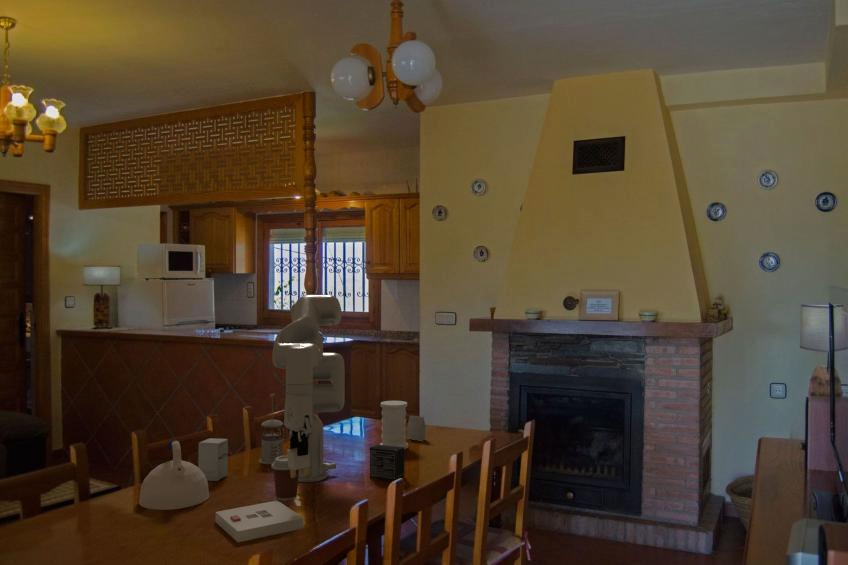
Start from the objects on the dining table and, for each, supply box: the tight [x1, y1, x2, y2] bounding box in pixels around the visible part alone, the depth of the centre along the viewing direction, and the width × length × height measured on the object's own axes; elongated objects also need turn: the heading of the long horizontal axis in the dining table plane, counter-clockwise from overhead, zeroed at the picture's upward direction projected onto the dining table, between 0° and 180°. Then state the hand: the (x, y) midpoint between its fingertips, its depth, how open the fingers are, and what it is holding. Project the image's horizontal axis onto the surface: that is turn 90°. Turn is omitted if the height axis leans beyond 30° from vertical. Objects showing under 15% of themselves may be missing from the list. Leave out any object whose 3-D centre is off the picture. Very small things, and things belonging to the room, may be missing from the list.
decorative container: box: [379, 400, 409, 450], centre depth 276 cm, size 12×12×18 cm
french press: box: [258, 393, 285, 465], centre depth 255 cm, size 10×12×25 cm
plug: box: [286, 448, 310, 478], centre depth 195 cm, size 5×5×8 cm
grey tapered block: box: [406, 415, 427, 442], centre depth 289 cm, size 4×7×10 cm, turn 61°
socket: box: [215, 500, 305, 543], centre depth 185 cm, size 18×18×3 cm
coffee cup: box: [270, 455, 299, 502], centre depth 210 cm, size 9×9×12 cm
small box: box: [369, 444, 405, 482], centre depth 232 cm, size 11×6×10 cm, turn 65°
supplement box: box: [197, 437, 229, 482], centre depth 231 cm, size 7×7×13 cm
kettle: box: [138, 439, 210, 511], centre depth 208 cm, size 20×21×18 cm
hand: (299, 452), depth 195 cm, fingers closed on plug, 4 cm apart
